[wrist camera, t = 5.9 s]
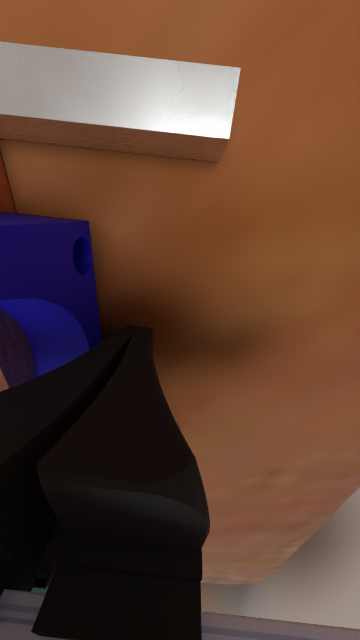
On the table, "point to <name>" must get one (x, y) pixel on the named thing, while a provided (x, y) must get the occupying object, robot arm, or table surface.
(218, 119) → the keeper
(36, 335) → the cable clip
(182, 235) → the table surface
